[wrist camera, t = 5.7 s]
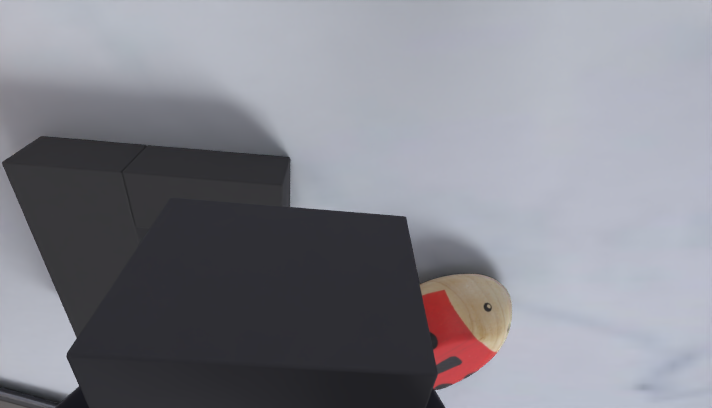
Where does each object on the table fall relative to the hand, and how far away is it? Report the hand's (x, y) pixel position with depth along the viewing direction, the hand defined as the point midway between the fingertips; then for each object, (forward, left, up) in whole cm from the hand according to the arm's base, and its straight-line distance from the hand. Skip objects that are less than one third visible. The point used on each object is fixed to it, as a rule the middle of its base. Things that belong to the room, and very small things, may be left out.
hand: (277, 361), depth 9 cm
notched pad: (+7, +7, -11) cm, 15 cm away
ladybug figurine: (-7, +11, -12) cm, 18 cm away
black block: (0, 0, -2) cm, 2 cm away
